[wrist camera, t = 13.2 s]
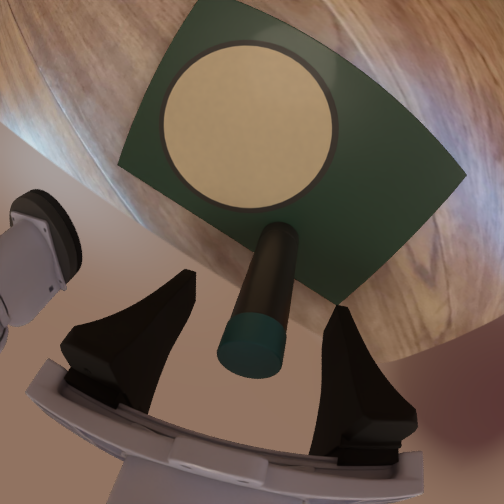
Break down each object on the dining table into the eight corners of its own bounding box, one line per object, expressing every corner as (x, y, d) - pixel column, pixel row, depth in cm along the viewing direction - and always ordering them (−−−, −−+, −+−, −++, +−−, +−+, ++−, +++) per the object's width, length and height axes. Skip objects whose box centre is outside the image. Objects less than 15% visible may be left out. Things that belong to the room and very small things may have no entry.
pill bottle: (294, 259, 20) (274, 384, 11) (257, 250, 20) (215, 369, 12) (303, 226, 18) (288, 350, 10) (263, 216, 18) (218, 333, 10)
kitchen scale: (460, 170, 14) (468, 175, 13) (336, 297, 22) (337, 307, 21) (210, -7, 11) (204, -12, 10) (124, 161, 19) (116, 165, 18)
